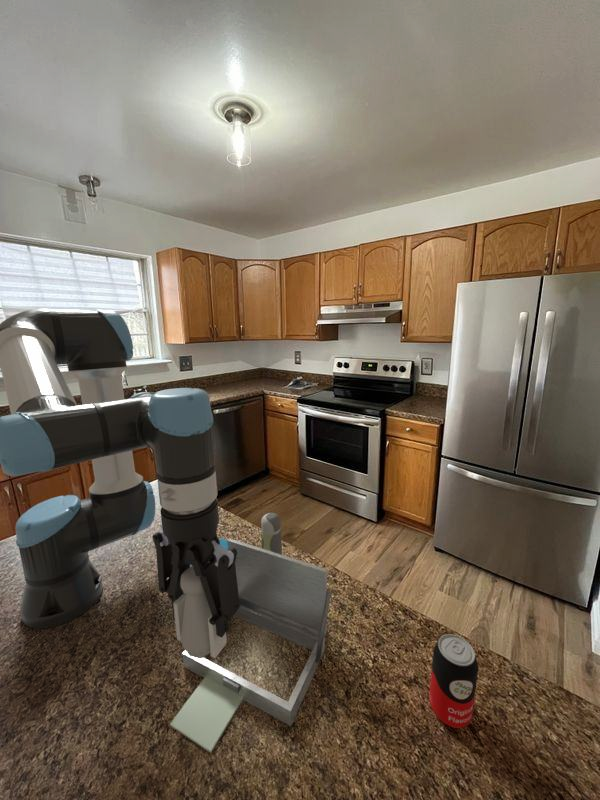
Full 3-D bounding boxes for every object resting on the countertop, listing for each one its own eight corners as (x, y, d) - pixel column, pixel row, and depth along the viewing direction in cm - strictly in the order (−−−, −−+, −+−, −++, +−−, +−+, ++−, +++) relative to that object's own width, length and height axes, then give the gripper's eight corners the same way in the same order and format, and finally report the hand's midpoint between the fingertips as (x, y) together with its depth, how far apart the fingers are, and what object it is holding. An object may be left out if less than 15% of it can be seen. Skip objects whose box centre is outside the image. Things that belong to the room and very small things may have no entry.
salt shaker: (206, 622, 56) (201, 552, 53) (229, 642, 52) (224, 568, 49) (174, 648, 51) (166, 573, 48) (196, 672, 48) (189, 593, 45)
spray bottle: (269, 583, 82) (267, 507, 78) (287, 589, 80) (285, 512, 75) (258, 597, 78) (255, 518, 73) (276, 604, 75) (274, 523, 71)
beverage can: (421, 709, 55) (427, 648, 52) (438, 681, 59) (444, 623, 56) (462, 743, 50) (470, 678, 48) (477, 710, 54) (485, 648, 52)
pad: (170, 725, 53) (169, 724, 53) (205, 678, 60) (205, 676, 60) (210, 753, 49) (210, 751, 49) (242, 699, 56) (242, 697, 56)
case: (181, 669, 61) (173, 588, 58) (233, 606, 75) (229, 538, 71) (295, 733, 52) (294, 641, 48) (331, 647, 65) (332, 570, 62)
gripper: (118, 499, 47) (137, 637, 52) (228, 533, 39) (238, 692, 44) (161, 478, 54) (174, 602, 59) (262, 503, 46) (267, 644, 51)
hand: (201, 640), depth 51 cm, fingers closed on salt shaker, 6 cm apart
